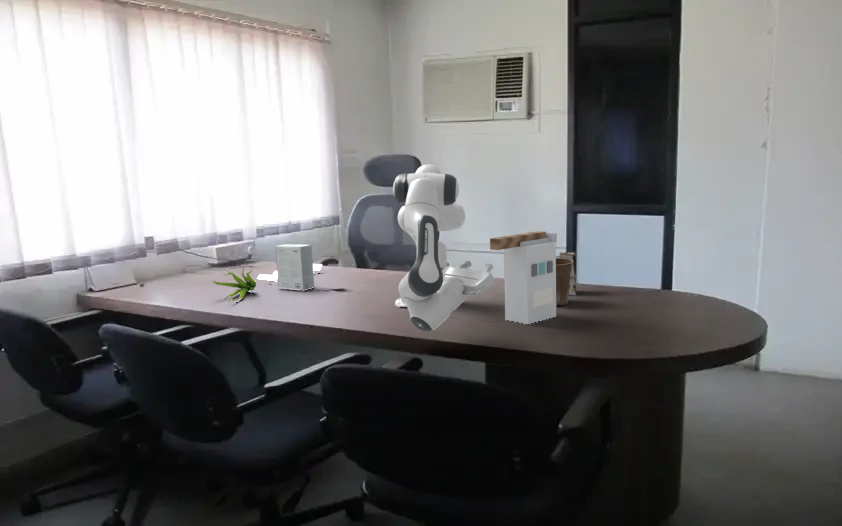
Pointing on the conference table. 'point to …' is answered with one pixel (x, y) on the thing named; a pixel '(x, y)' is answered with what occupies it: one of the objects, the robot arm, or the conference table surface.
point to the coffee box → (573, 273)
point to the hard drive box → (295, 266)
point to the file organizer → (275, 275)
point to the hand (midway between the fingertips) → (479, 263)
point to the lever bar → (514, 240)
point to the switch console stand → (531, 280)
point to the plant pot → (562, 280)
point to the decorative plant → (240, 284)
